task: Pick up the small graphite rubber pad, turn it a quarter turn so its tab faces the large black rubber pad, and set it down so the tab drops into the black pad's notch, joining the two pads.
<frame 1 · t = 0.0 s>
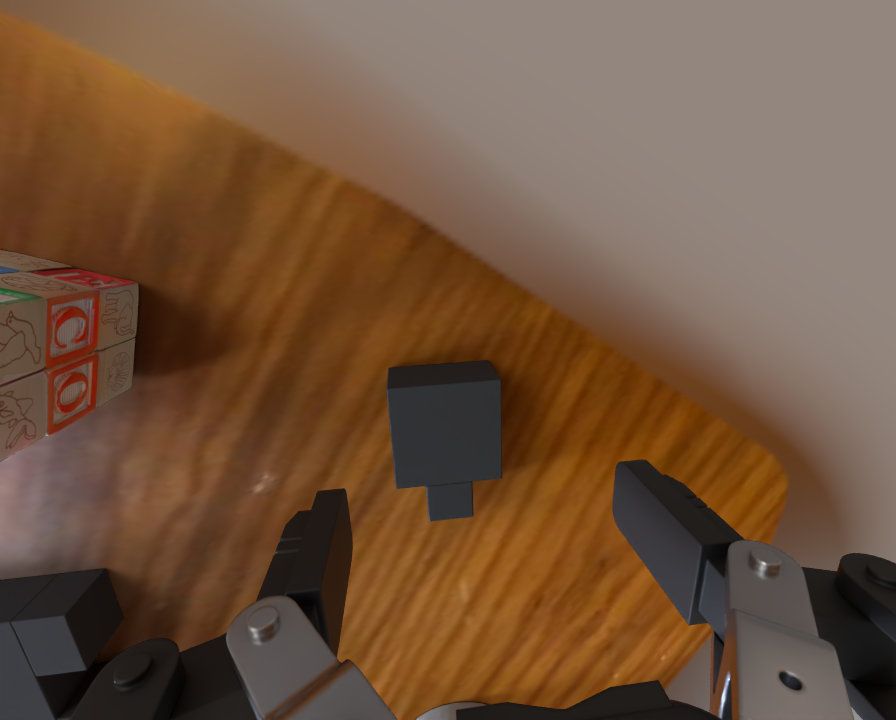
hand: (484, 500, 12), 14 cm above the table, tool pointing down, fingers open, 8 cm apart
notch pad: (36, 650, 28), on the table
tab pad: (441, 409, 26), on the table
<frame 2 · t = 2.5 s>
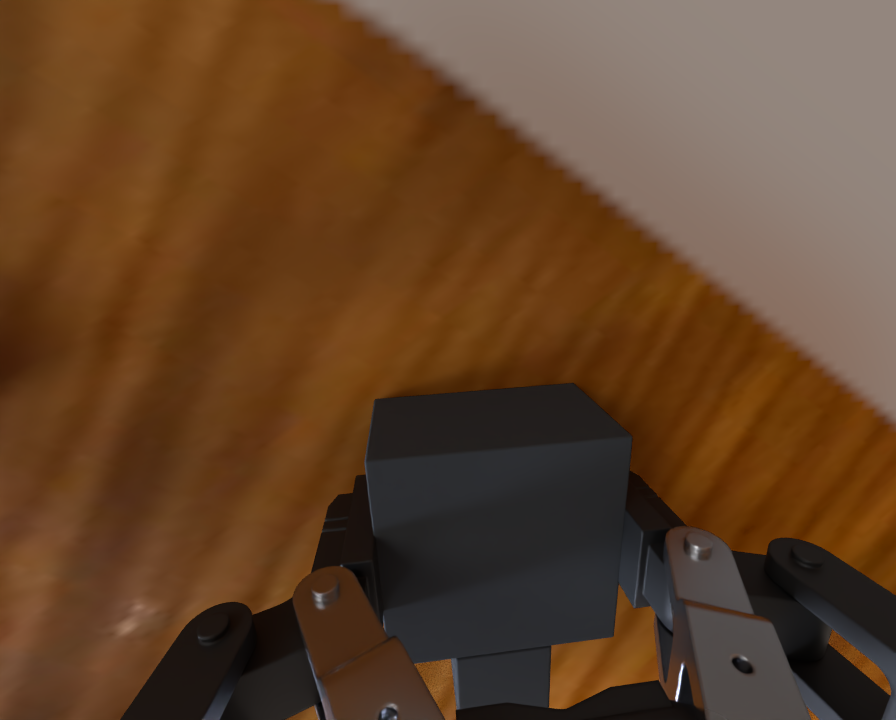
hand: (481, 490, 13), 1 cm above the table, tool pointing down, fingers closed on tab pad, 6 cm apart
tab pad: (478, 477, 13), on the table, touching gripper
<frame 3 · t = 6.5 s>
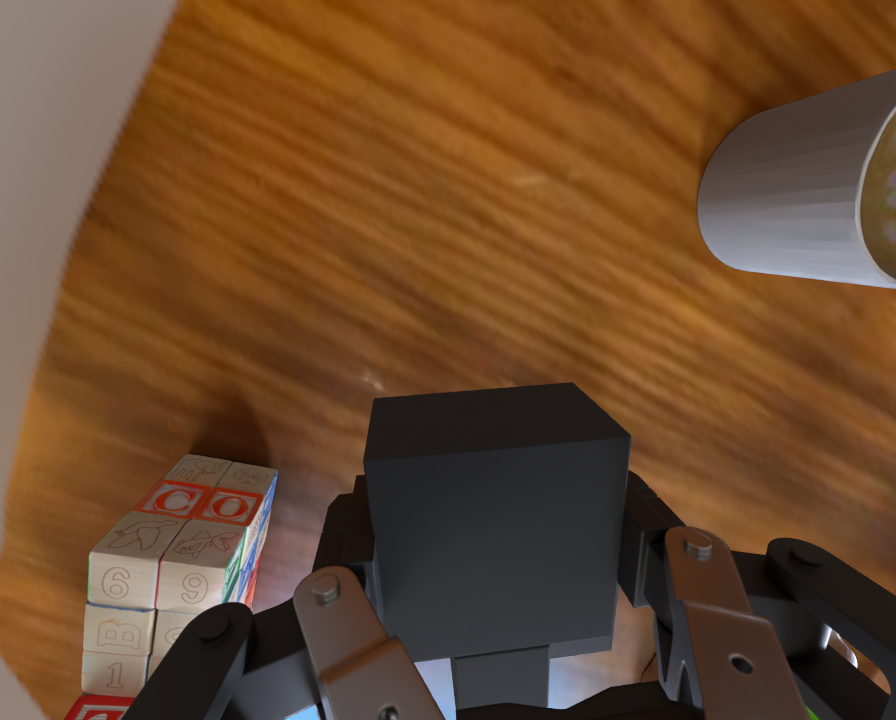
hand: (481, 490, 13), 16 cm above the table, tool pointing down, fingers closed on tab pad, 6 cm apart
notch pad: (526, 564, 34), on the table
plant: (740, 670, 42), on the table
coffee mug: (784, 206, 28), on the table
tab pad: (477, 477, 13), point 15 cm above the table, touching gripper
stack of blocks: (214, 581, 32), on the table
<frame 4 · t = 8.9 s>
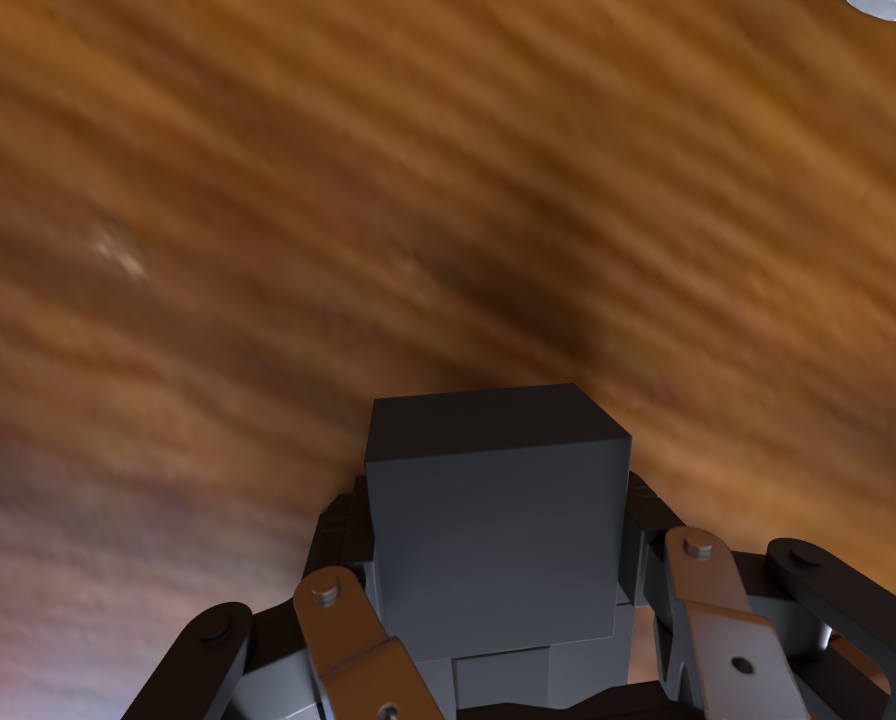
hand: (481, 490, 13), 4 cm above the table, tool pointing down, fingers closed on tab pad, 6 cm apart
notch pad: (468, 608, 20), on the table
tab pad: (478, 477, 13), point 4 cm above the table, touching gripper
when the fingers open (1 cm above the table, at t = 10.5 s): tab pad stays where it is, on the table.
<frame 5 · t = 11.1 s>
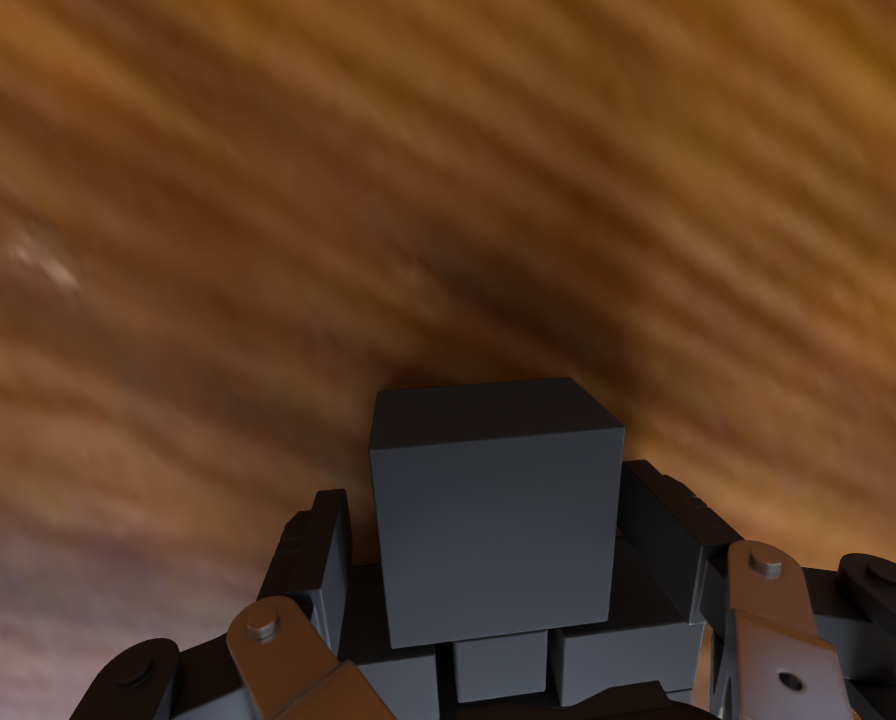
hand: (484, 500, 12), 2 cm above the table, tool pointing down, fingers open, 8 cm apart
notch pad: (482, 676, 17), on the table
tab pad: (477, 469, 14), on the table
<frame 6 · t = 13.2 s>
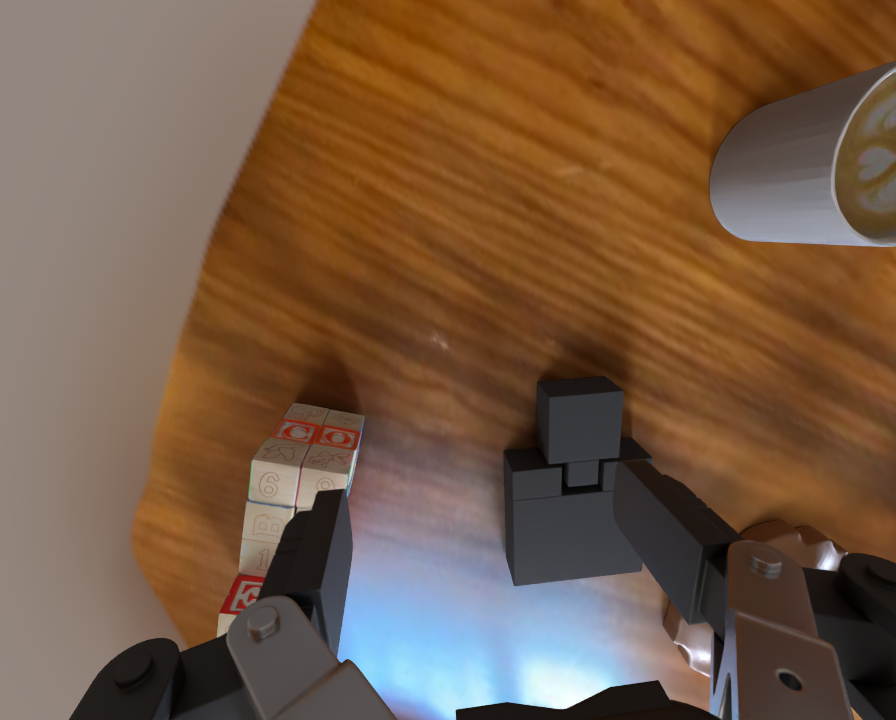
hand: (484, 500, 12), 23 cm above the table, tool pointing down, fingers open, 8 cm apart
notch pad: (566, 500, 40), on the table
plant: (757, 601, 47), on the table
coffee mug: (785, 185, 33), on the table
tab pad: (570, 410, 38), on the table
stack of blocks: (311, 511, 39), on the table
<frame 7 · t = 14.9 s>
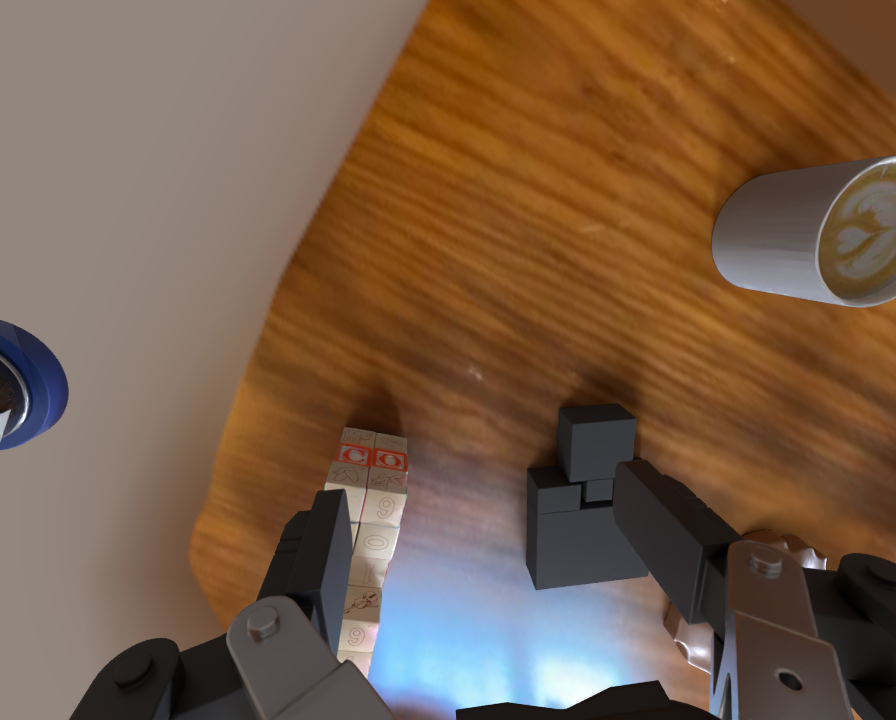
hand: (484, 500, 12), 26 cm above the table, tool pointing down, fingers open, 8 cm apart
notch pad: (581, 512, 45), on the table
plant: (748, 602, 52), on the table
coffee mug: (776, 241, 39), on the table
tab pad: (587, 433, 42), on the table
stack of blocks: (353, 523, 43), on the table
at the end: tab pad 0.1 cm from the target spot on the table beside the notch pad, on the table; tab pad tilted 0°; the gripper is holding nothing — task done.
